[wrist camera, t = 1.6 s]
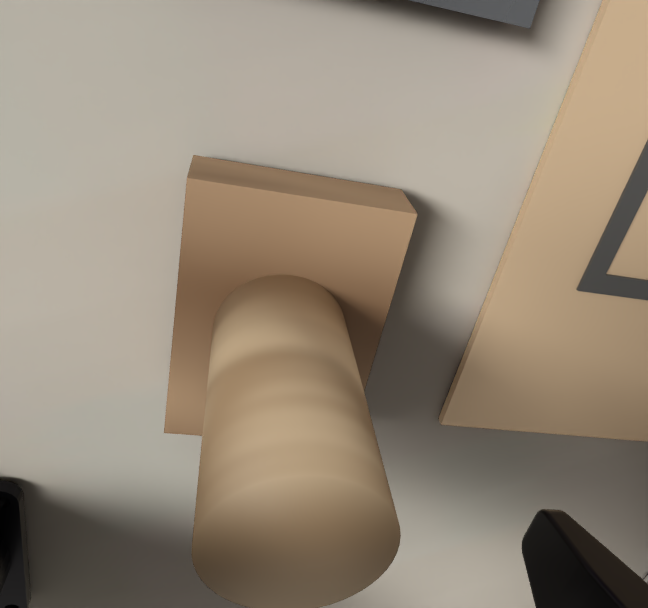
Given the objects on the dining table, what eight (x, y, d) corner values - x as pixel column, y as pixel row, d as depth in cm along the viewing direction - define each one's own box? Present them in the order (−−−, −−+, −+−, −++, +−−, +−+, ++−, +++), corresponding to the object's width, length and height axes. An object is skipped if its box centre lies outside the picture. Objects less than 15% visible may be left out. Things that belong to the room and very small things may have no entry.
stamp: (337, 395, 18) (393, 671, 11) (173, 380, 17) (120, 674, 10) (395, 181, 15) (530, 385, 8) (195, 147, 14) (140, 346, 7)
